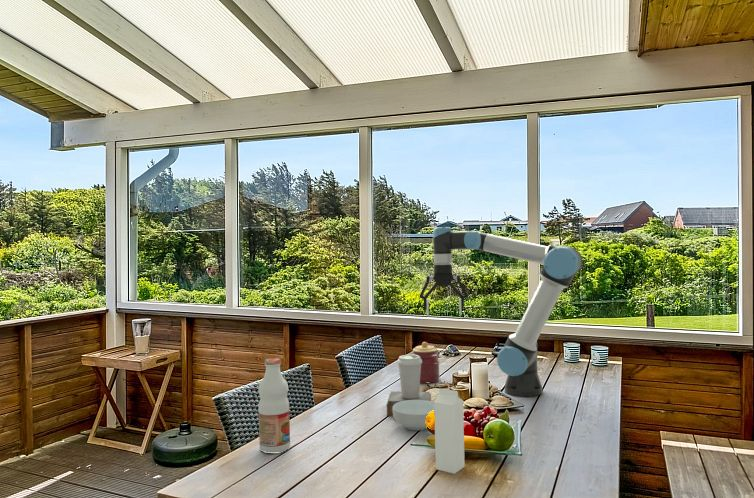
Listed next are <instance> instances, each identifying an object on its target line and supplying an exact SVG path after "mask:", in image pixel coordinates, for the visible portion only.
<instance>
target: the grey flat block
mask: <svg viewBox="0 0 754 498" xmlns="http://www.w3.org/2000/svg"><path fill="white" fill-rule="evenodd" d="M406 400H426V401H432V393H430V391H419V397H418V398H414V399H407V398H403V397H402V392H401V391H390V393H389V395H388V399H387V402H386V415H387V417H388V416H389V417H390V416H392V417H394V416H393V409H392V408H393V405H394V404H396V403H398V402H401V401H406Z"/></svg>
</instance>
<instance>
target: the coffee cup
mask: <svg viewBox="0 0 754 498" xmlns="http://www.w3.org/2000/svg"><path fill="white" fill-rule="evenodd" d="M396 363H397V364H398V370H399V371H398V372H399V381H400V392H402V397H403V398H407V399H414V398H418V397H419V392H420V389H421V387H420V386H421V383H420V373H421V363H422V359H421V358H420V356H418V355H411V354H403V355H399V356H398V359H397V362H396Z"/></svg>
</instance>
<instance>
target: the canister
mask: <svg viewBox="0 0 754 498" xmlns="http://www.w3.org/2000/svg"><path fill="white" fill-rule="evenodd" d="M437 351H438V348H437V347H435V346H433V345H429V344H428V342H427V341H423V342H422V343H421V345H417V346H415V347H414V348H413V349H412V353H411V354H410V355H418V356H420V358H421V359H422V363H421V373H420V384H427V383H426V382H430V383H429V384H433V383H434V384H435V383H437V382H439V381H440V360H439V356H440V354H439V353H438V352H437Z"/></svg>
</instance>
